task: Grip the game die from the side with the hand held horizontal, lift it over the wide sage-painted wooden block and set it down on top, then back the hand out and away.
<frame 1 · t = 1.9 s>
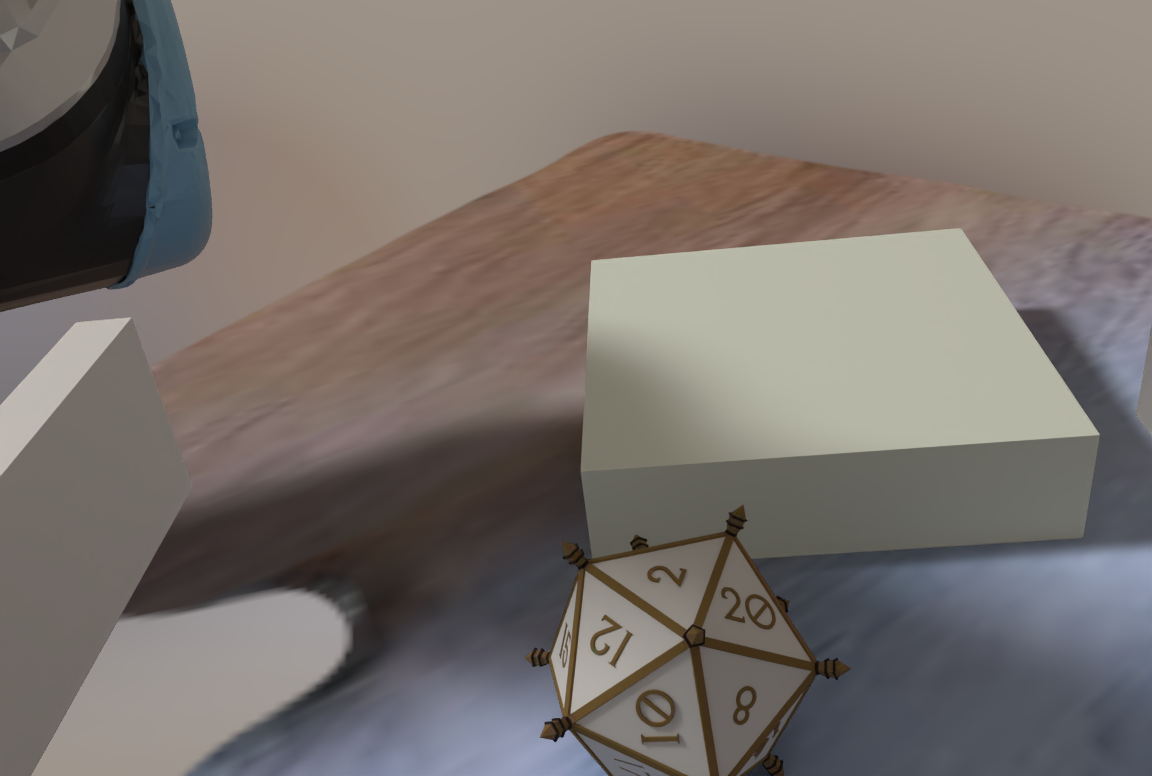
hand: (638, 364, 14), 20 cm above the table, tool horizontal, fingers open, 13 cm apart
game die: (685, 760, 34), on the table
base block: (799, 430, 49), on the table
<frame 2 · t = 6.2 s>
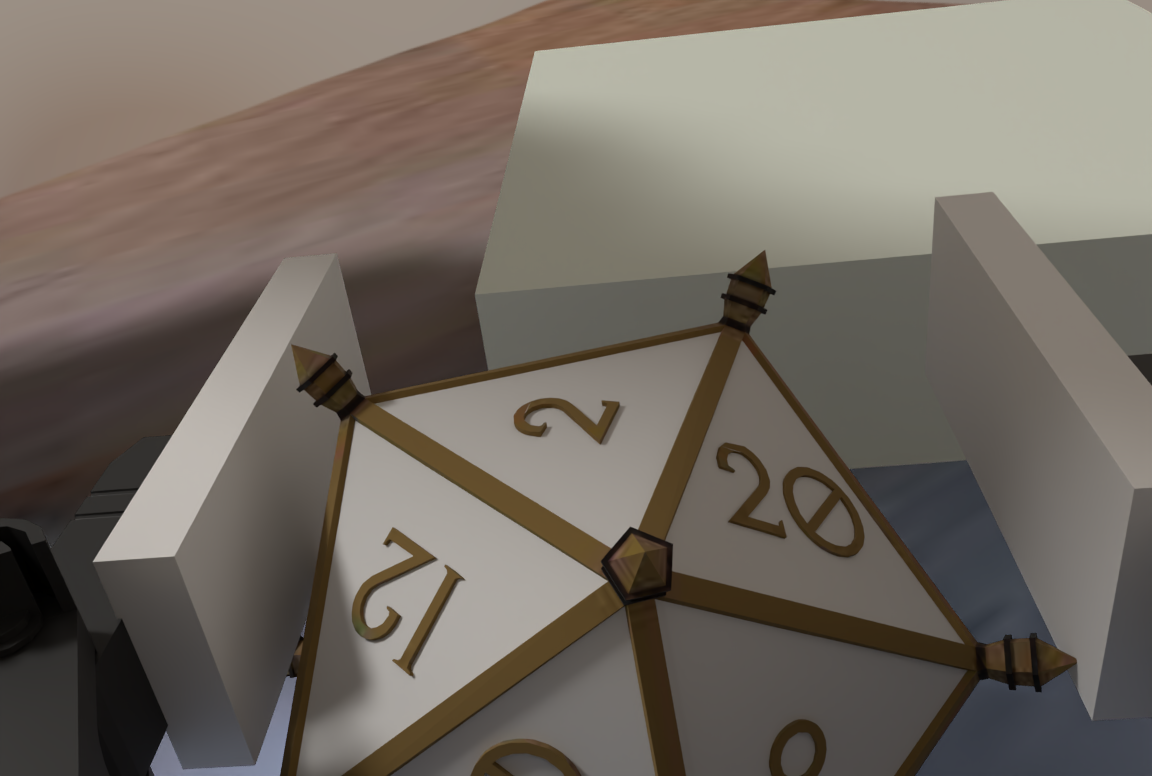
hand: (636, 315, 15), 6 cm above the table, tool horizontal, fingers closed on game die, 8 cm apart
base block: (867, 284, 30), on the table
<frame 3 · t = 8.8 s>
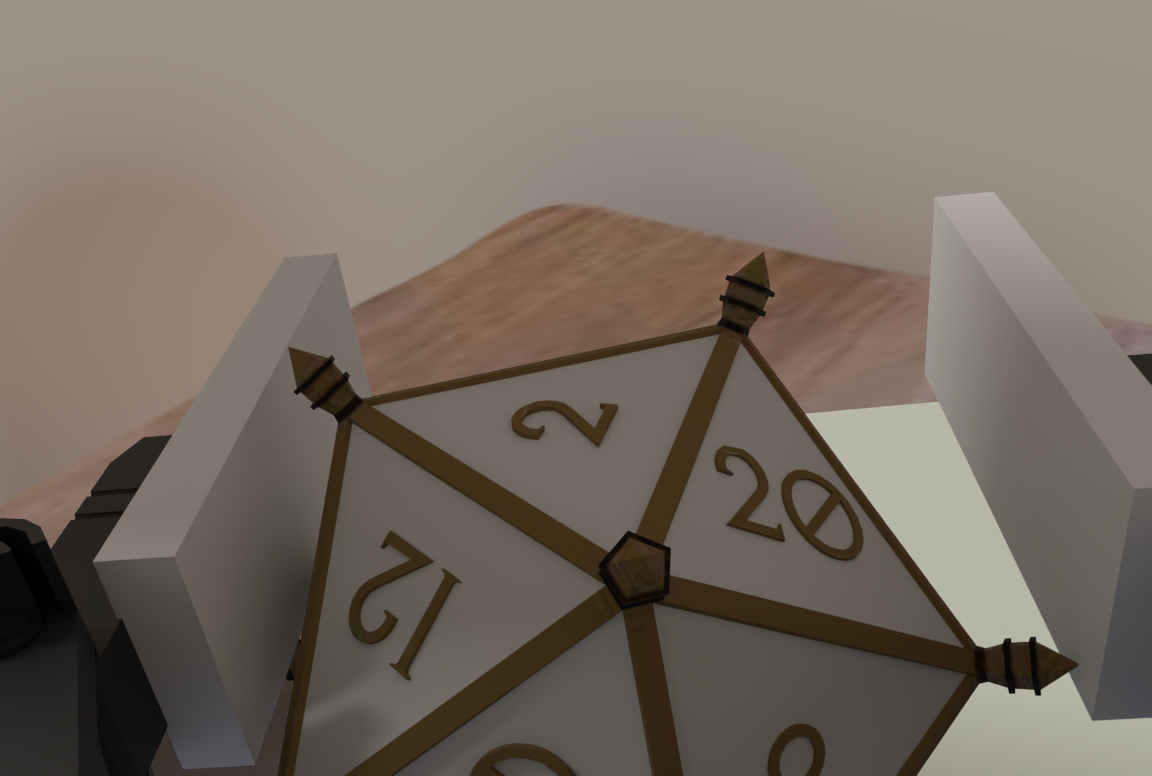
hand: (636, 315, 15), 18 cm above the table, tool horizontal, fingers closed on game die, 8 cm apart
base block: (783, 728, 32), on the table
when the fingers open (12 cm above the table, at t = 11.3 s): game die drops 2 cm, resting on base block.
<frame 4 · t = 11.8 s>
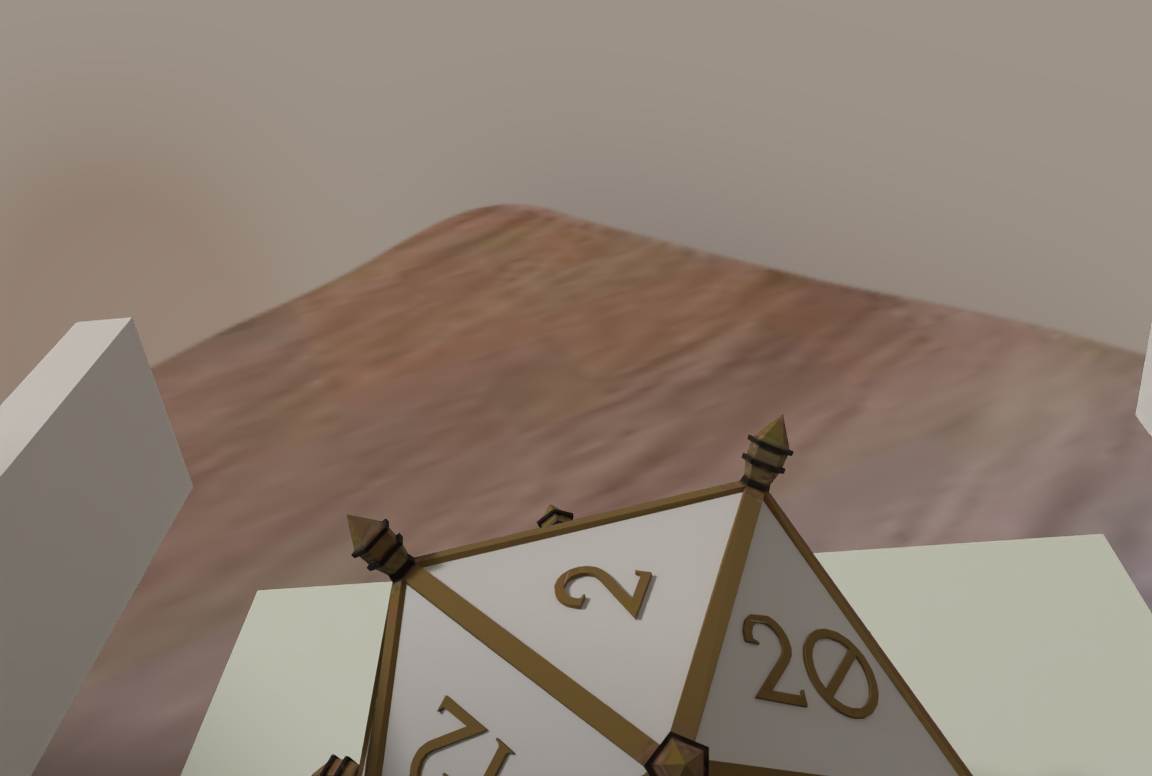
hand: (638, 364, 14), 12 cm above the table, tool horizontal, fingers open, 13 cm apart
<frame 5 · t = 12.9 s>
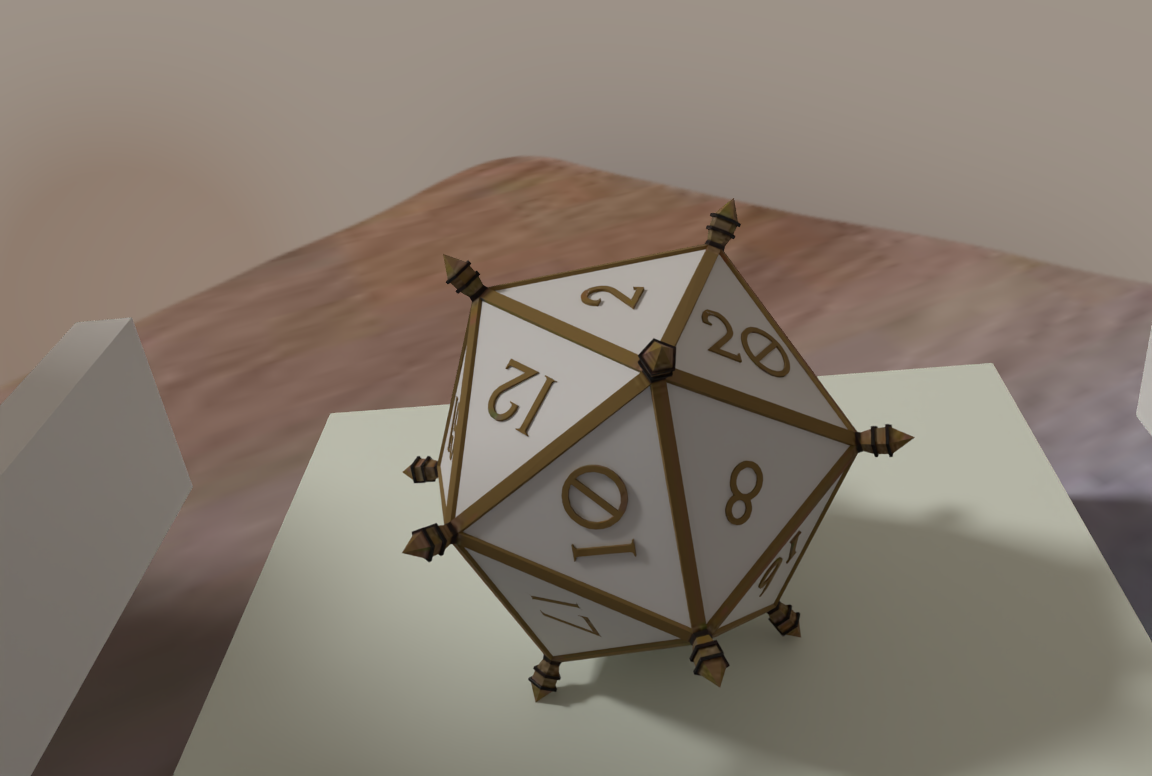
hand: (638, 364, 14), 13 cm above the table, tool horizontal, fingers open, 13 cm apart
game die: (649, 623, 22), point 4 cm above the table, touching base block
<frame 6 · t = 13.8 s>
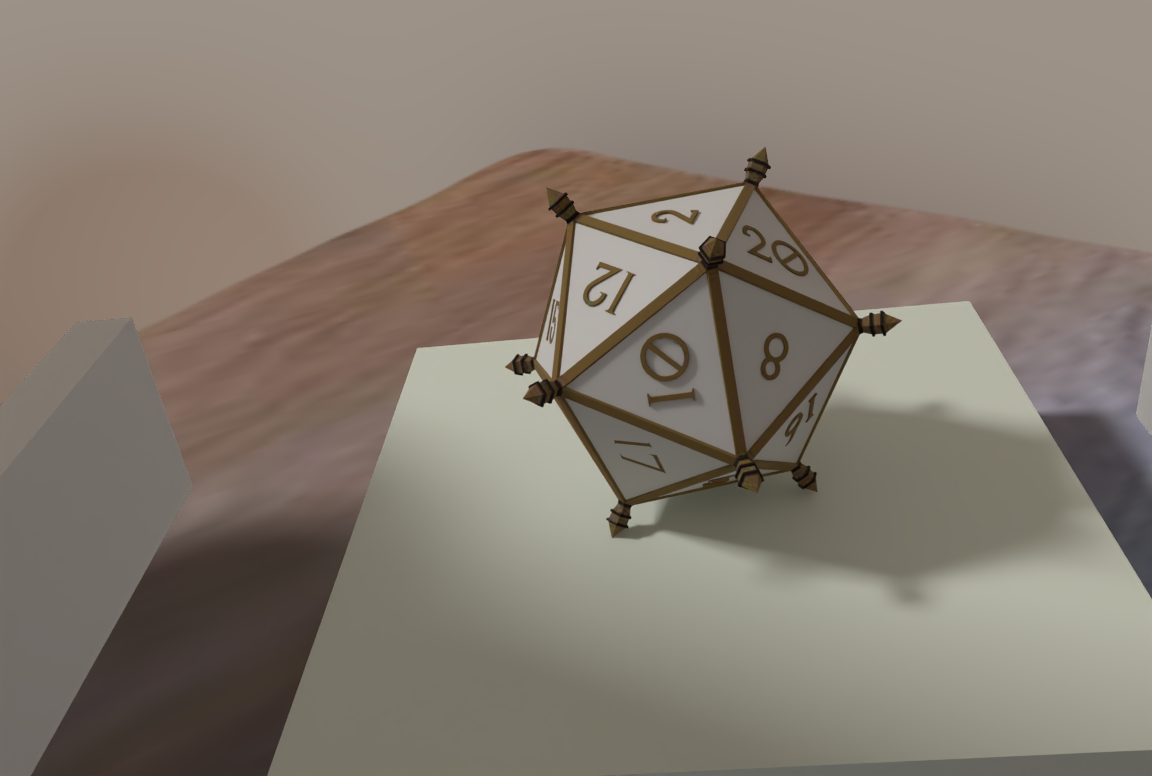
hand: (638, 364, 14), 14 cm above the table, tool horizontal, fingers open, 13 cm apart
game die: (698, 486, 28), point 4 cm above the table, touching base block
base block: (713, 631, 30), on the table, touching game die
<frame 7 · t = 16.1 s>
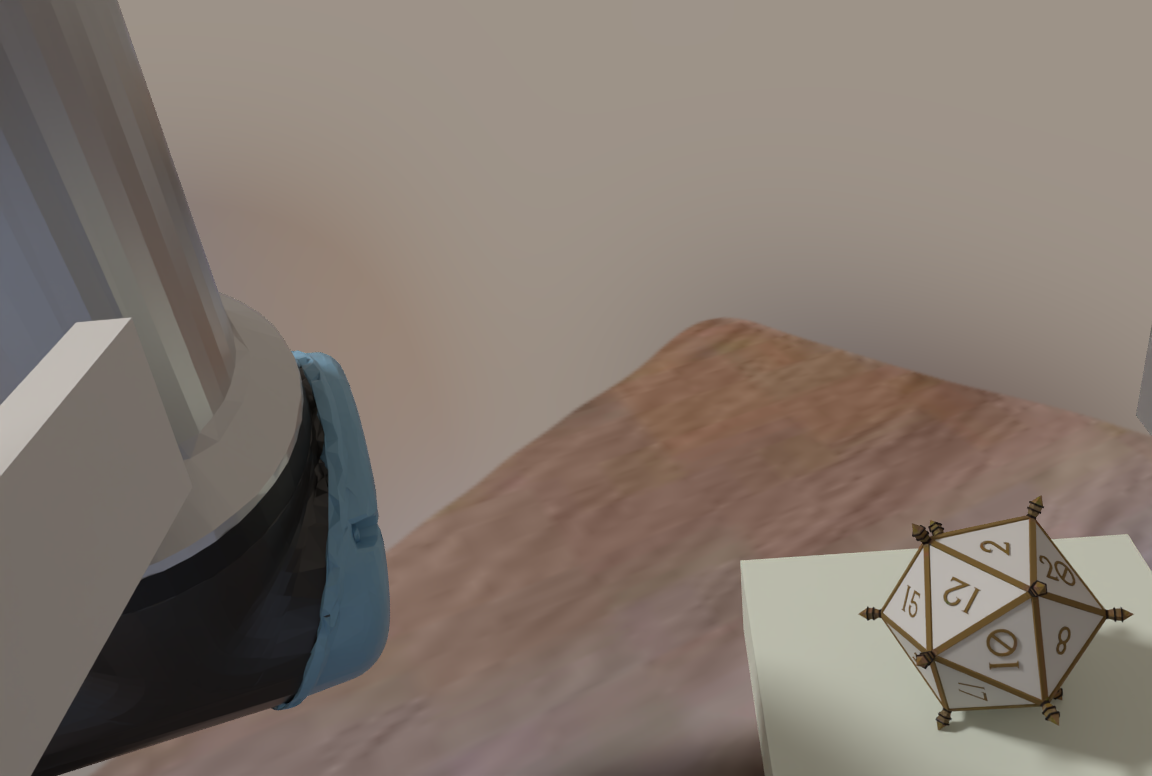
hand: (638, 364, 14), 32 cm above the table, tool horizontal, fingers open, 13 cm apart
game die: (980, 691, 44), point 4 cm above the table, touching base block
base block: (977, 773, 47), on the table, touching game die
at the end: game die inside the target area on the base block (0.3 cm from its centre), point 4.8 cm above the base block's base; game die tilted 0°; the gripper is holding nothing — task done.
